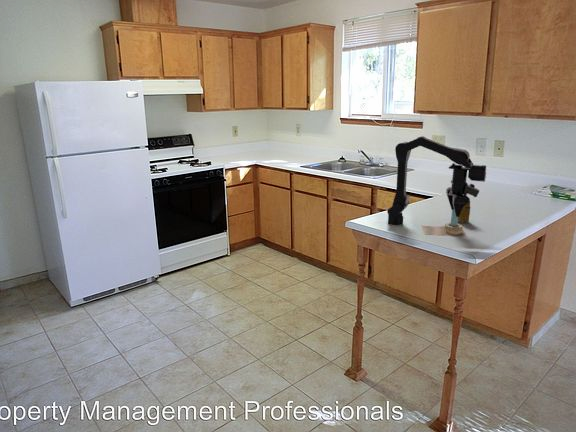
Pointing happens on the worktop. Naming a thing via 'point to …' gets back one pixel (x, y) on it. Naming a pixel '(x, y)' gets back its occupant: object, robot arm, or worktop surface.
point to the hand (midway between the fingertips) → (455, 213)
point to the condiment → (464, 214)
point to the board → (439, 231)
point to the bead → (453, 229)
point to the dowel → (454, 219)
